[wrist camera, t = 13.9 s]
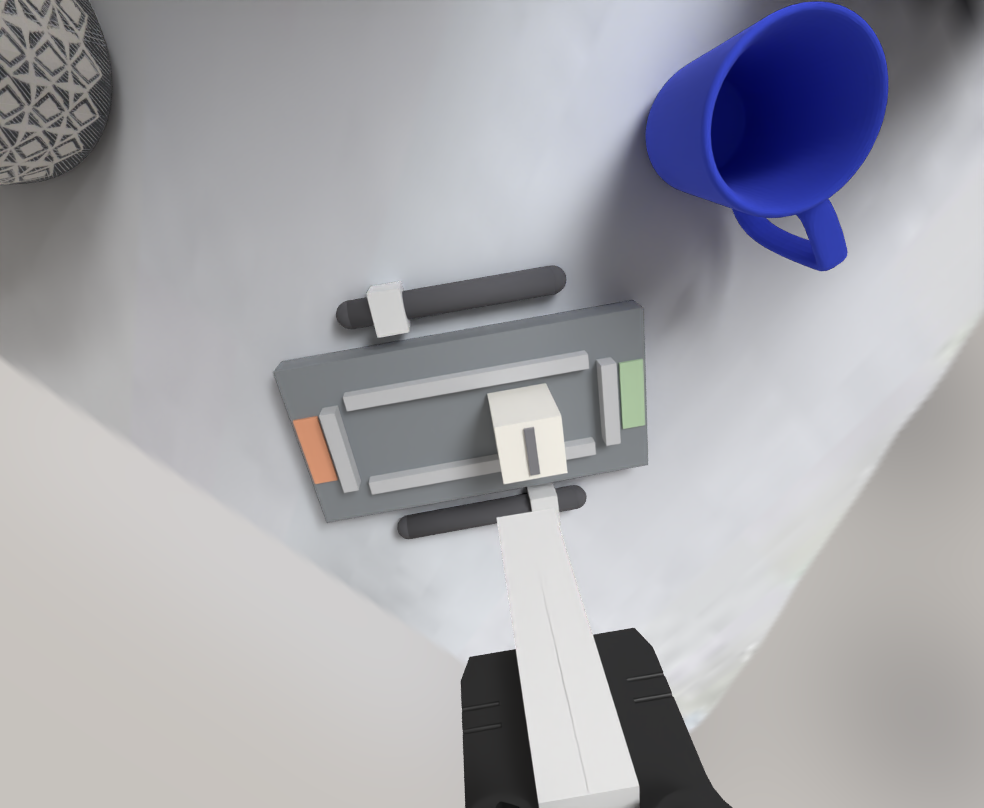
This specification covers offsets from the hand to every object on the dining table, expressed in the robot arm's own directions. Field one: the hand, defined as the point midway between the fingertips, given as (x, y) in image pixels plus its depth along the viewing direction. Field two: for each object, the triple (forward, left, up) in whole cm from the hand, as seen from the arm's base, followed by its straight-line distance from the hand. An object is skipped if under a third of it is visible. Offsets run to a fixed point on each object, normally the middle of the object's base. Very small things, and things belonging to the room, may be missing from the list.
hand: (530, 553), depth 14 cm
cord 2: (+15, -1, -24) cm, 28 cm away
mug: (-7, +16, -24) cm, 29 cm away
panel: (+7, -1, -24) cm, 24 cm away
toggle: (+7, +2, -21) cm, 23 cm away
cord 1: (-2, -1, -24) cm, 24 cm away
